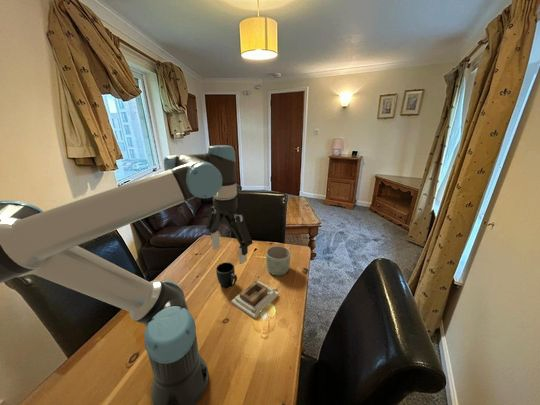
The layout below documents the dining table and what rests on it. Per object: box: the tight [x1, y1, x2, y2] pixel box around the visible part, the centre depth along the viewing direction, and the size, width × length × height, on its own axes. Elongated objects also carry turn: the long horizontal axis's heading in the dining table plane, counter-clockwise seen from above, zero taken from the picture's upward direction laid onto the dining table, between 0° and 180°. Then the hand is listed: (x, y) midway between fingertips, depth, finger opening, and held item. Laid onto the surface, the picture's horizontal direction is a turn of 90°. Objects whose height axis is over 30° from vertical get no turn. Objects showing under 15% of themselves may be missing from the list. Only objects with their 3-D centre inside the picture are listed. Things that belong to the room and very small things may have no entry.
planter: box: [265, 245, 292, 276], centre depth 110 cm, size 12×12×11 cm
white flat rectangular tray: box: [231, 280, 279, 319], centre depth 93 cm, size 16×13×3 cm
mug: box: [215, 262, 238, 289], centre depth 99 cm, size 8×12×10 cm
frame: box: [239, 280, 268, 307], centre depth 92 cm, size 10×7×4 cm
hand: (229, 255), depth 74 cm, fingers open, 13 cm apart
